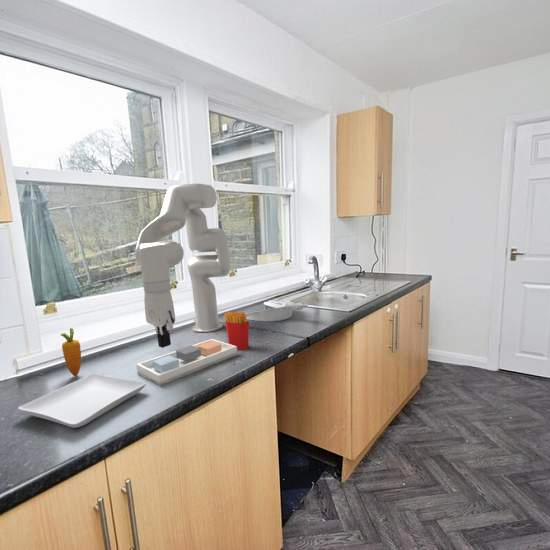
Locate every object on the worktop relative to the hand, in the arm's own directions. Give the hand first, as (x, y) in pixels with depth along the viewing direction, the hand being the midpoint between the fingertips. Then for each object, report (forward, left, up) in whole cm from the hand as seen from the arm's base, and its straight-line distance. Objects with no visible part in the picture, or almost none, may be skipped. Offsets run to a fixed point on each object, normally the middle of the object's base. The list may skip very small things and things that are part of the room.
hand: (164, 345), depth 105 cm
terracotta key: (0, +15, -7) cm, 17 cm away
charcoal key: (0, +7, -6) cm, 9 cm away
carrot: (-21, -20, -8) cm, 30 cm away
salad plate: (+2, -24, -9) cm, 25 cm away
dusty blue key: (0, -1, -7) cm, 7 cm away
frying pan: (-10, +63, -9) cm, 64 cm away
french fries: (+2, +26, -8) cm, 28 cm away
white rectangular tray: (0, +7, -8) cm, 11 cm away
